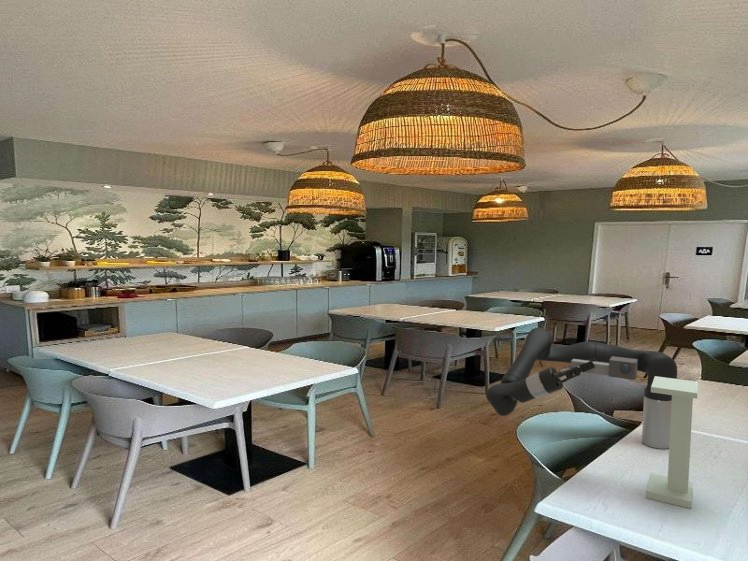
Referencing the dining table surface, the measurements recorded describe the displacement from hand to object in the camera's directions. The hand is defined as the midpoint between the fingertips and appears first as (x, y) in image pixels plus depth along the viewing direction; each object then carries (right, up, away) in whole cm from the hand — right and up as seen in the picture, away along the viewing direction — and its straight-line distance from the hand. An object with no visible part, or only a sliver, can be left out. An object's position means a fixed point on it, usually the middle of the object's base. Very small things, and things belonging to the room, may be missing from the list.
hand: (594, 362), depth 158 cm
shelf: (+18, -36, -9) cm, 41 cm away
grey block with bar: (+2, -3, -1) cm, 4 cm away
